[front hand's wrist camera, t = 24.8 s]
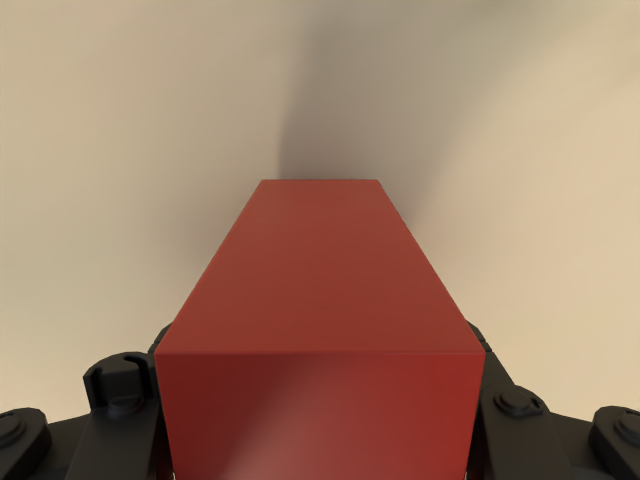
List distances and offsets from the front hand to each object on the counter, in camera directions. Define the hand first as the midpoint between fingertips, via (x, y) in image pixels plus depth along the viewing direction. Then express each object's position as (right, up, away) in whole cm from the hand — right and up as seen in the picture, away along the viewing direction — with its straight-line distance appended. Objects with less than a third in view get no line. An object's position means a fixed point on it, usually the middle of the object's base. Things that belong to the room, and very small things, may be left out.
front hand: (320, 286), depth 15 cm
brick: (0, +1, +3) cm, 3 cm away
